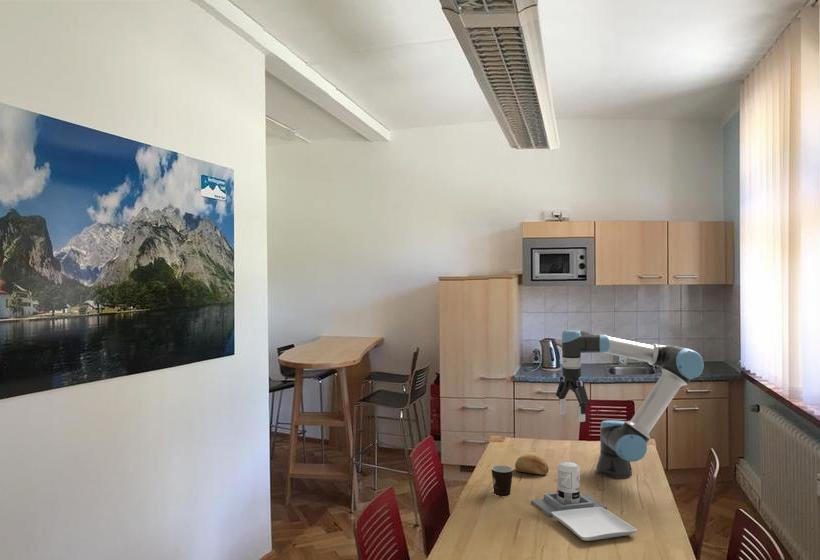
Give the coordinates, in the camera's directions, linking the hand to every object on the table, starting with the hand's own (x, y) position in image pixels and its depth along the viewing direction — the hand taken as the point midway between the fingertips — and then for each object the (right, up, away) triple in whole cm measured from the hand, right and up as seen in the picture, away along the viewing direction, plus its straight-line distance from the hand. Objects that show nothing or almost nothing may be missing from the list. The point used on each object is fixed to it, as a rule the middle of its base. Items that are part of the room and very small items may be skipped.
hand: (572, 417), depth 250 cm
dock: (-8, -28, -23) cm, 37 cm away
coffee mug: (-31, -28, -9) cm, 43 cm away
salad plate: (-5, -29, -43) cm, 52 cm away
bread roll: (-14, -28, +14) cm, 34 cm away
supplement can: (-8, -27, -23) cm, 37 cm away
